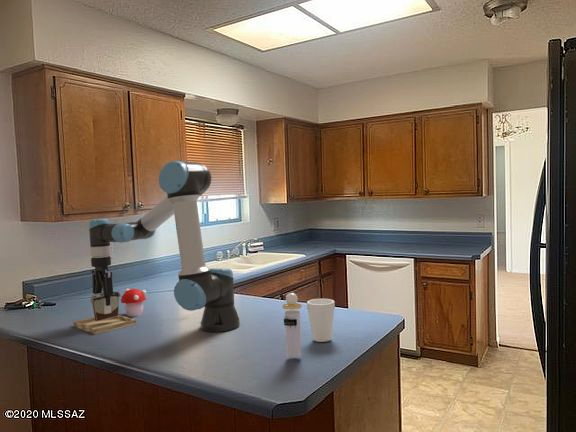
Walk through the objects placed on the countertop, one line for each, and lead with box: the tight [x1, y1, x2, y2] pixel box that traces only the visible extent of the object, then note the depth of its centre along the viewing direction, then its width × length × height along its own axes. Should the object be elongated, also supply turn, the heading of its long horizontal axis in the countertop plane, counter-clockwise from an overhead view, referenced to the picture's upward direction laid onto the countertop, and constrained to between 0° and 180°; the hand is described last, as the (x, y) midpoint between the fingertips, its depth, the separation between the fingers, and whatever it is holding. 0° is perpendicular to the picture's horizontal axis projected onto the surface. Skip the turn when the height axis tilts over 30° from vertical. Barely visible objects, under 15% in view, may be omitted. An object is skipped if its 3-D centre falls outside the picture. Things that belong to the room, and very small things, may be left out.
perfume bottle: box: [282, 292, 302, 358], centre depth 138 cm, size 6×6×20 cm
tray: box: [72, 314, 137, 335], centre depth 185 cm, size 20×17×2 cm
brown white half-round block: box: [89, 291, 122, 321], centre depth 185 cm, size 12×6×10 cm, turn 141°
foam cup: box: [306, 298, 336, 343], centre depth 155 cm, size 10×9×13 cm
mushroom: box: [120, 288, 147, 318], centre depth 200 cm, size 11×11×12 cm
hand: (103, 312), depth 185 cm, fingers closed on brown white half-round block, 6 cm apart
